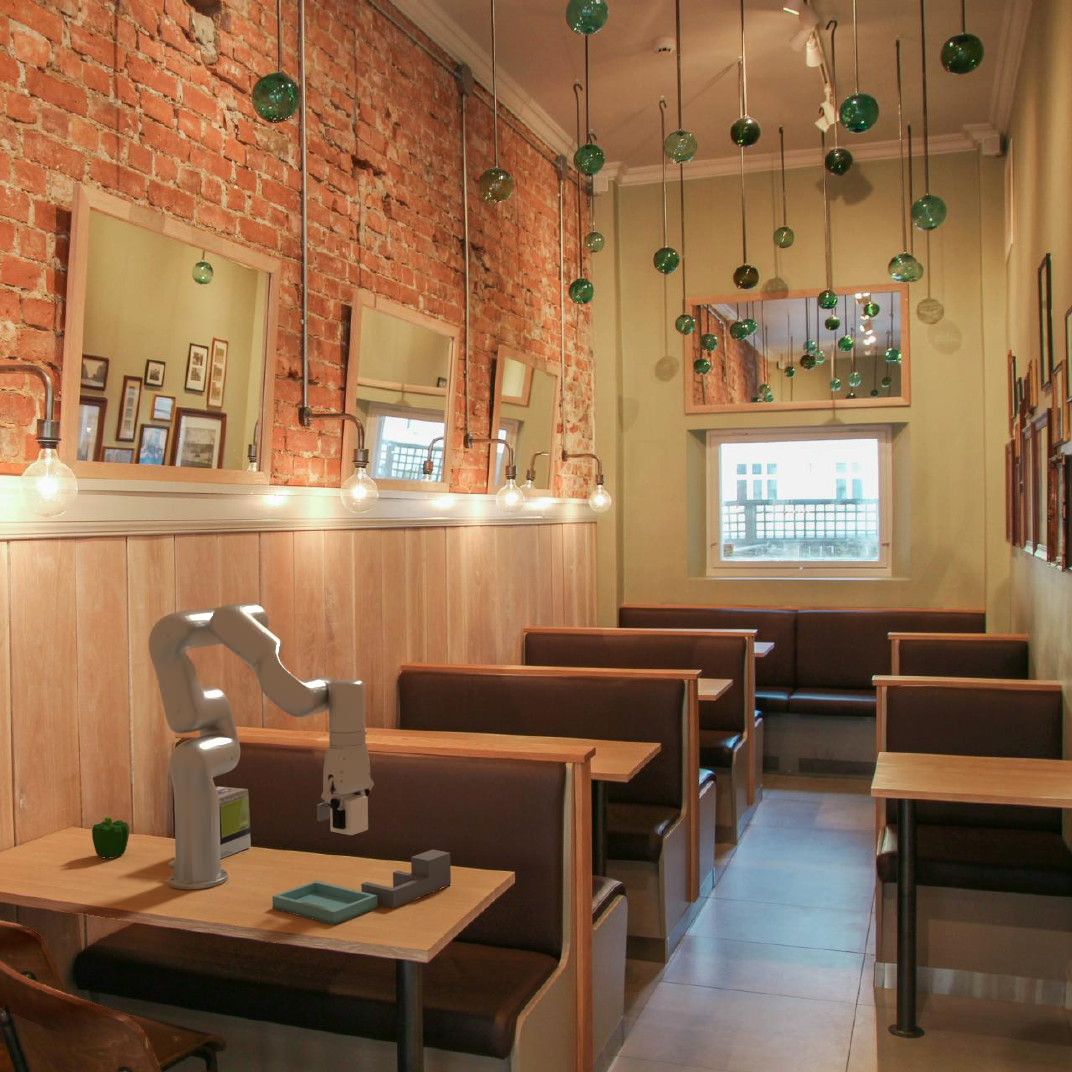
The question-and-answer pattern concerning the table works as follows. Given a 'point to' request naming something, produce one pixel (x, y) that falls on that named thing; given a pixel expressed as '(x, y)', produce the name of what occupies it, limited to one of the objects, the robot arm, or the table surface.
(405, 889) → the bay
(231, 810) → the tea box
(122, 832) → the bell pepper
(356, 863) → the table surface
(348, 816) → the t-handle cube
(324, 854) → the table surface
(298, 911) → the tray
